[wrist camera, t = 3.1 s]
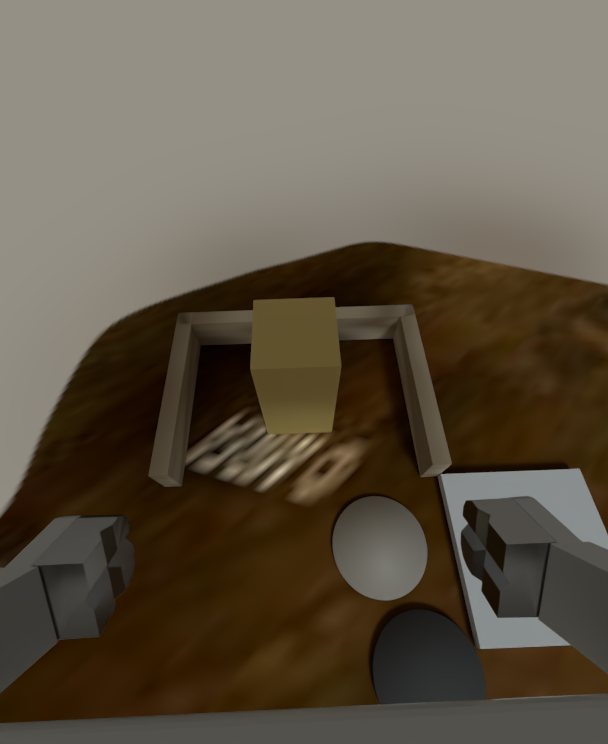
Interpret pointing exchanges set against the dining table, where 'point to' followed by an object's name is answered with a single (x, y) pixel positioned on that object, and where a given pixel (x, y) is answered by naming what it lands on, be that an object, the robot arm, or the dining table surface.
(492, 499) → the robot arm
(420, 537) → the painted circle
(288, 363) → the ochre block
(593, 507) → the pad
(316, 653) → the dining table surface
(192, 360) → the cubby
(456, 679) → the hole disc
